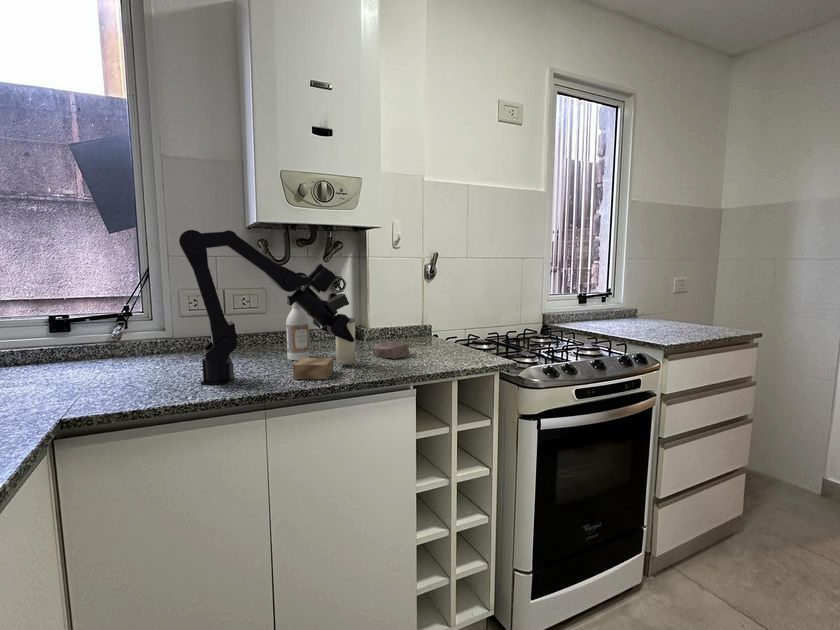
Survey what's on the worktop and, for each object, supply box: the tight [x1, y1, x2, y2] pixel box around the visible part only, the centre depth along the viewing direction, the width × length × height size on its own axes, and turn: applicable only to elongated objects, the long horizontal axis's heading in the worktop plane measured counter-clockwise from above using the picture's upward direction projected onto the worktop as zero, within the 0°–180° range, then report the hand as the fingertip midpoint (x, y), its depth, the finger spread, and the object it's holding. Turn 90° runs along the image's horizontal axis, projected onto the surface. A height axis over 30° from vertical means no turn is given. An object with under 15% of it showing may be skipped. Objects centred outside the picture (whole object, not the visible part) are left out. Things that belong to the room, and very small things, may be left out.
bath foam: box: [285, 302, 311, 362], centre depth 141 cm, size 7×7×20 cm
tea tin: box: [335, 317, 356, 365], centre depth 132 cm, size 6×6×13 cm
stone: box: [371, 340, 411, 360], centre depth 147 cm, size 12×9×5 cm
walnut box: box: [292, 357, 335, 380], centre depth 121 cm, size 9×9×4 cm
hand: (349, 339), depth 132 cm, fingers closed on tea tin, 6 cm apart
